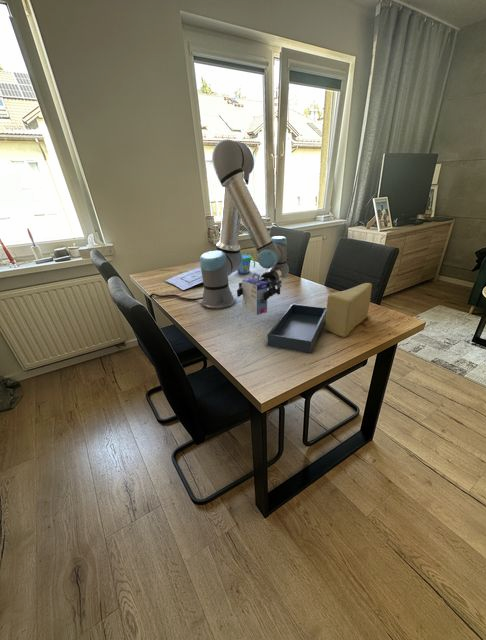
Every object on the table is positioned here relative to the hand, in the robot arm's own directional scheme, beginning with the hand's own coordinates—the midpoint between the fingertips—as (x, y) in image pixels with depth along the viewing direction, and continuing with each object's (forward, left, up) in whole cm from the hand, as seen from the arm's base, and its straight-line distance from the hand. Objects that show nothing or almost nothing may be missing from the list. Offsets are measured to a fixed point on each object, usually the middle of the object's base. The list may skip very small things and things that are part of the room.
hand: (251, 295), depth 107 cm
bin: (+19, +2, -13) cm, 23 cm away
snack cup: (-36, +67, -13) cm, 77 cm away
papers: (-57, +45, -13) cm, 74 cm away
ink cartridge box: (0, +3, -8) cm, 8 cm away
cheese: (+37, +13, -13) cm, 42 cm away
